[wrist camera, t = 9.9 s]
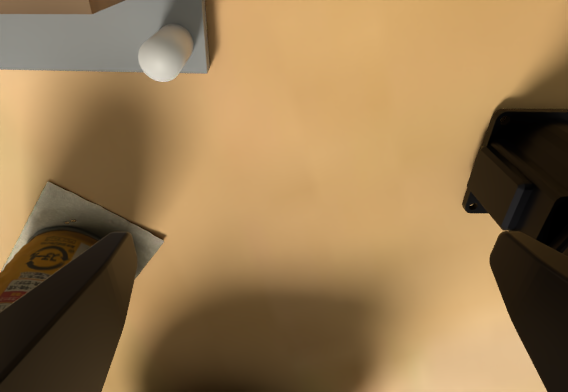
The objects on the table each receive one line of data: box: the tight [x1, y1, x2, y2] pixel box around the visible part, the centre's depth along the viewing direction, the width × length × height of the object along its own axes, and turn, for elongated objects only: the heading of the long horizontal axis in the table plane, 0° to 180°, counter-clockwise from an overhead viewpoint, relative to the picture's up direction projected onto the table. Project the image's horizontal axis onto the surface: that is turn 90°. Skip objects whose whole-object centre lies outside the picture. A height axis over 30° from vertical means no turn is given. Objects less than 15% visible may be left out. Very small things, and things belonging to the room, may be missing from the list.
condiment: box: [0, 182, 164, 312], centre depth 20 cm, size 7×8×12 cm
